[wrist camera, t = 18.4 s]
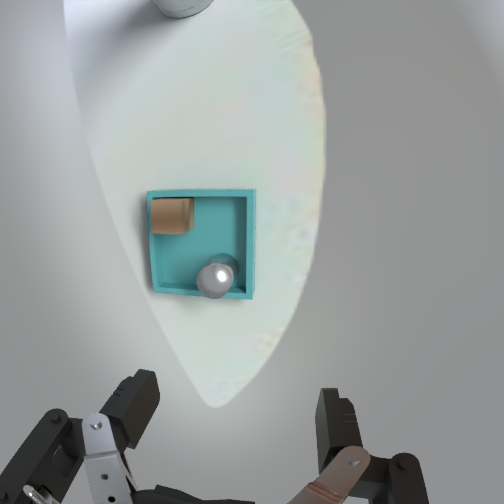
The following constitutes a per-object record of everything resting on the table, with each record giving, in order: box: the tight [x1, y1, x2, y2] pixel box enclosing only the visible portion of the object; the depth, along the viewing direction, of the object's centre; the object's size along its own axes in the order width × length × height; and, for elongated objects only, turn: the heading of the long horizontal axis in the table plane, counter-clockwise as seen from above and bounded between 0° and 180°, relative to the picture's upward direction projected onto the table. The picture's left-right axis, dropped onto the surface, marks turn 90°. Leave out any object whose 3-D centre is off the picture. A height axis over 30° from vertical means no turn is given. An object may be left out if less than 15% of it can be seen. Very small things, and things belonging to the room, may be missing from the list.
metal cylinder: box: [196, 253, 239, 299], centre depth 36 cm, size 4×4×6 cm
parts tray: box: [147, 189, 256, 299], centre depth 37 cm, size 14×14×3 cm
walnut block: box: [151, 197, 194, 234], centre depth 35 cm, size 4×4×5 cm
